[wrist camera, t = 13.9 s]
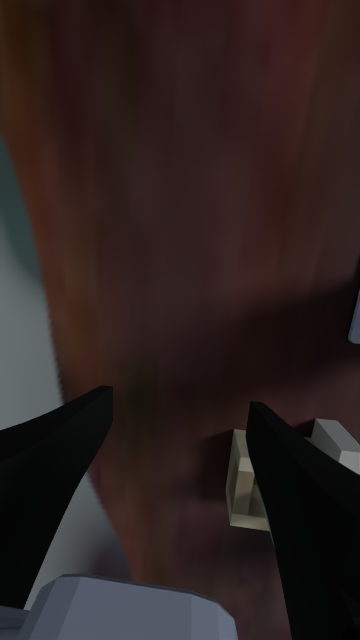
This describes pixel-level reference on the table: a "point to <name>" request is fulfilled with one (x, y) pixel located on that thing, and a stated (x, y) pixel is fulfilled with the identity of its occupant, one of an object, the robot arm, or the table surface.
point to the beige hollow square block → (244, 487)
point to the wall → (337, 443)
